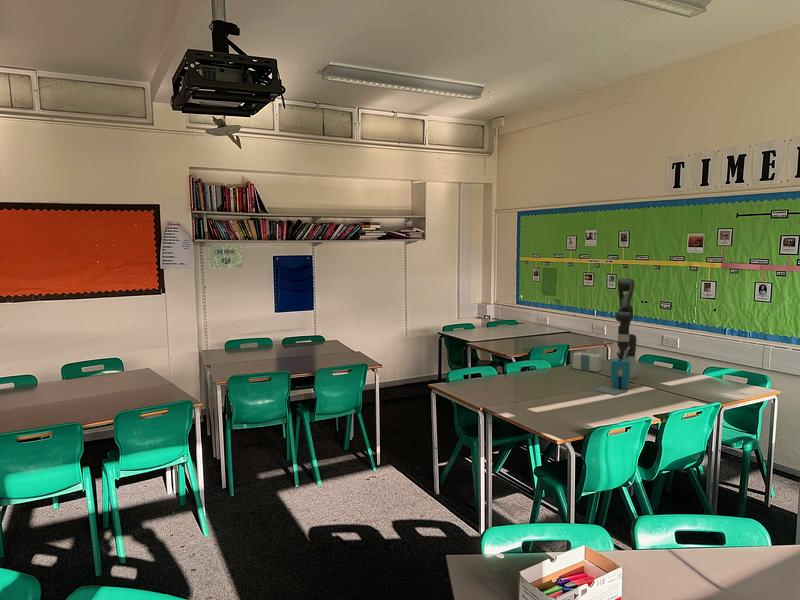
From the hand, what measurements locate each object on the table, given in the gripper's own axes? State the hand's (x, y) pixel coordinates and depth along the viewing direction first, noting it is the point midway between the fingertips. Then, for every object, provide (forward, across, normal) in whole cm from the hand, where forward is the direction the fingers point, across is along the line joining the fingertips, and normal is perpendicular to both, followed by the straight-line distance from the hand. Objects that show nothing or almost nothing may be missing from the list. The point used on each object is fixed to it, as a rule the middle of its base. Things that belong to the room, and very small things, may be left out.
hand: (622, 364), depth 388 cm
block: (+16, +3, 0) cm, 16 cm away
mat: (+16, +15, 0) cm, 22 cm away
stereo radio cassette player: (+16, -26, -47) cm, 56 cm away
